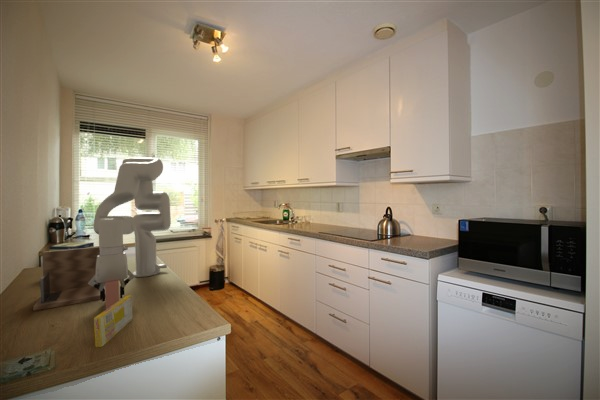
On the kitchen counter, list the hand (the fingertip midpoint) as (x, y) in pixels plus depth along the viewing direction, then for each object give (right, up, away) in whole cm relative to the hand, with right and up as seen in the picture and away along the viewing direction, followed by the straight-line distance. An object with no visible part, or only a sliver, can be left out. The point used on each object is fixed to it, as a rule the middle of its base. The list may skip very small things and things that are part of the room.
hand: (112, 298), depth 105 cm
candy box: (+16, -3, -22) cm, 27 cm away
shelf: (-20, -2, +7) cm, 21 cm away
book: (0, -2, 0) cm, 2 cm away
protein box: (-48, -2, +40) cm, 63 cm away
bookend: (-25, -1, +2) cm, 25 cm away
